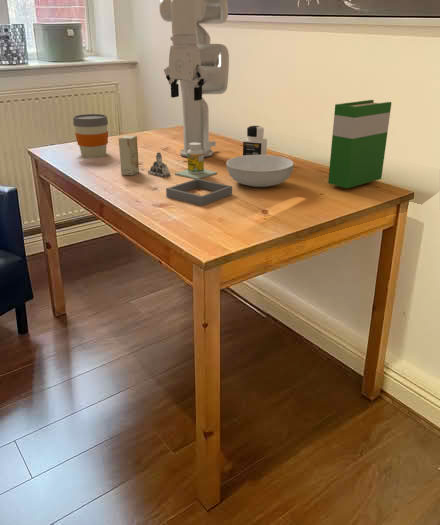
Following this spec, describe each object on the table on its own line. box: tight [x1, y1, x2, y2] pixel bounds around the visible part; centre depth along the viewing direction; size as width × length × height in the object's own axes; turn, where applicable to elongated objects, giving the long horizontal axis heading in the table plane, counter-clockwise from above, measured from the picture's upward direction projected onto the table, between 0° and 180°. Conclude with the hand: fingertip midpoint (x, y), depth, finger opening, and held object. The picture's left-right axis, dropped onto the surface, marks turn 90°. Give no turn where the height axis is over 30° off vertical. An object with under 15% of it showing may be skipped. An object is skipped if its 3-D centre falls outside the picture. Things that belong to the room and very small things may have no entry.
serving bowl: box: [225, 154, 295, 188], centre depth 161 cm, size 21×21×7 cm
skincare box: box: [118, 134, 140, 176], centre depth 171 cm, size 6×4×12 cm
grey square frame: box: [165, 178, 233, 207], centre depth 149 cm, size 14×14×2 cm
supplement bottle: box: [186, 143, 205, 174], centre depth 170 cm, size 5×5×10 cm
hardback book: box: [327, 99, 392, 189], centre depth 160 cm, size 18×7×24 cm, turn 129°
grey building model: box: [147, 151, 171, 178], centre depth 172 cm, size 9×9×8 cm
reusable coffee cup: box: [72, 113, 109, 159], centre depth 192 cm, size 13×13×15 cm
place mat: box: [174, 169, 218, 180], centre depth 172 cm, size 10×10×1 cm
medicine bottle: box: [242, 125, 268, 156], centre depth 190 cm, size 7×7×12 cm
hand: (186, 98), depth 166 cm, fingers open, 9 cm apart
